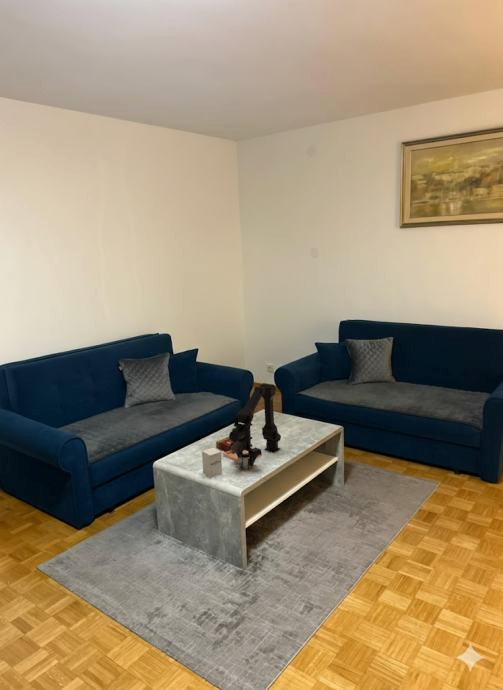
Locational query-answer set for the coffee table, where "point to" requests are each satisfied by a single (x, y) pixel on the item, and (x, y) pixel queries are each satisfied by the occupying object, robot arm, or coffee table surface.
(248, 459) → the grey tankard
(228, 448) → the decorative book
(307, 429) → the coffee table surface
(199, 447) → the coffee table surface
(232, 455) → the tray
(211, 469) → the supplement box
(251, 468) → the square plate with peg
